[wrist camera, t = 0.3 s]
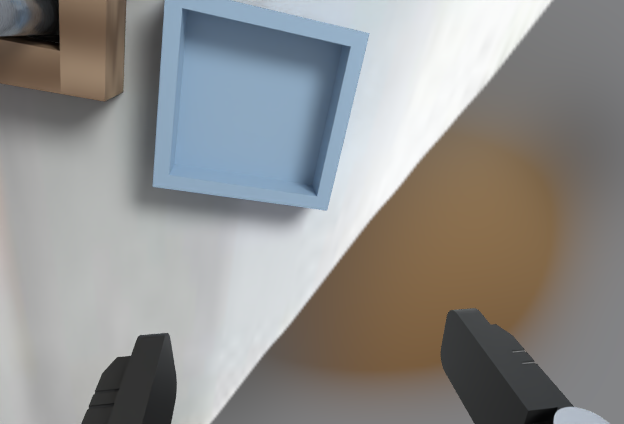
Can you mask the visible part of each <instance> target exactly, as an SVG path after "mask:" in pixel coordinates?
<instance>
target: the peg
mask: <svg viewBox="0 0 624 424" xmlns="http://www.w3.org/2000/svg"><path fill="white" fill-rule="evenodd" d="M28 35H60V30H59V0H0V36H28Z"/></svg>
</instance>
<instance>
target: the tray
mask: <svg viewBox="0 0 624 424" xmlns="http://www.w3.org/2000/svg"><path fill="white" fill-rule="evenodd" d="M368 37H369V33H366V32H361V31H357V30H353V29H349V28H344V27H340V26H336V25H332V24H328V23H323V22H319V21H315V20H311V19H307V18H302V17H298V16H294V15H290V14H286V13H281V12H277V11H273V10H269V9H265V8H260V7H256V6H252V5H248V4H244V3H239V2H235V1H231V0H165V5H164V20H163V36H162V51H161V66H160V82H159V97H158V112H157V128H156V143H155V158H154V173H153V187H158V188H165V189H173V190H180V191H187V192H195V193H202V194H209V195H217V196H224V197H231V198H239V199H246V200H253V201H261V202H268V203H275V204H283V205H290V206H297V207H305V208H312V209H319V210H327V209H328V205H329V201H330V196H331V192H332V188H333V184H334V180H335V175H336V171H337V167H338V163H339V159H340V154H341V150H342V146H343V142H344V138H345V134H346V129H347V125H348V121H349V117H350V113H351V108H352V104H353V100H354V96H355V92H356V88H357V83H358V79H359V75H360V71H361V67H362V62H363V58H364V54H365V50H366V46H367V41H368Z"/></svg>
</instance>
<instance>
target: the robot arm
mask: <svg viewBox="0 0 624 424" xmlns="http://www.w3.org/2000/svg"><path fill="white" fill-rule="evenodd" d="M441 361H442V366H443V369H444V371H445V373H446V375H447V376H448V378H449V380H450V382H451V383H452V385H453V387H454V389H455V390H456V392H457V394H458V395H459V397H460V399H461V401H462V403H463V404H464V406H465V408H466V409H467V411H468V413H469V415H470V416H471V418H472V420H473V422H474V423H475V424H610V423H609V422H607V421H606V420H605V419H603V418H602V417H600V416H599V415H597V414H595V413H593V412H590V411H588V410H585V409H582V408H576V407H574V406H573V405H572V404H571V403H570V402H569V400H568V399H567V398H566V397H565V396H564V395H563V393H562V392H561V391H560V390H559V389H558V388H557V386H556V385H555V384H554V383H553V382H552V381H551V380H550V378H549V377H548V376H547V375H546V374H545V373H544V372H543V370H542V369H541V368H540V367H539V366H538V364H535V363H534V360H533V359H532V357H531V356H530V355H529V354H528V353H527V352H525V351H524V348H523V347H522V346H521V345H520V344H519V342H518V341H517V340H516V339H515V338H514V337H513V336H512V335H511V334H510V333H508V332H507V331H505V330H504V329H502V328H501V327H499V326H498V325H496V324H494V325H490V323H489V322H488V321H487V320H486V319H485V317H484V316H483V315H482V314H481V312H480V311H479V310H477V309H474V308H473V309H461V310H451V311H449V312H448V314H447V319H446V324H445V330H444V335H443V341H442V346H441ZM176 390H177V379H176V371H175V365H174V359H173V352H172V346H171V340H170V336H169V334H168V333H161V334H149V335H140V336H138V338H137V340H136V343H135V346H134V349H133V352H132V355H131V356H126V357H117V358H116V359H115V360H114V361H113V362H112V363H111V365H110V366H109V367H108V368H107V369H106V370H105V371H104V372H103V373H102V376H101V378H100V380H99V383H98V385H97V388H96V390H95V394H94V395H93V397H92V400H91V402H90V404H89V409H88V410H87V412H86V414H85V416H84V419H83V421H82V424H171V421H172V415H173V410H174V405H175V400H176Z"/></svg>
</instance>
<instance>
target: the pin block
mask: <svg viewBox="0 0 624 424" xmlns="http://www.w3.org/2000/svg"><path fill="white" fill-rule="evenodd" d="M125 23H126V0H59V30H60V43H57V42H52V41H47V40H42V39H37V38H32V37H27V36H0V83H1V84H7V85H13V86H19V87H24V88H30V89H36V90H42V91H47V92H53V93H59V94H64V95H70V96H76V97H82V98H87V99H93V100H99V101H107V100H109V99H111V98H113V97H115V96H116V95H118V94H120V93H122V92H123V82H124V53H125Z"/></svg>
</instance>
